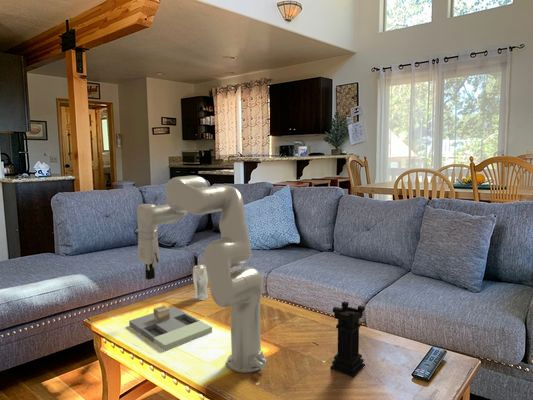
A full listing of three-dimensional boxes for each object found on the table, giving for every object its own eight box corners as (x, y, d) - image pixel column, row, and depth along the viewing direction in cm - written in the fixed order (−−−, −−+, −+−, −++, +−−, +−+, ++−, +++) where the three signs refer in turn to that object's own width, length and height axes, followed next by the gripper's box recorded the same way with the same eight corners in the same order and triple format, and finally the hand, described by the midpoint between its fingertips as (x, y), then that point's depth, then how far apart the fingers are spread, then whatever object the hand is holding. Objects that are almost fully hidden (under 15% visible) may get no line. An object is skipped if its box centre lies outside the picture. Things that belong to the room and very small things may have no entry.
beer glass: (192, 296, 192) (191, 265, 190) (207, 294, 194) (206, 263, 192) (194, 301, 186) (193, 269, 184) (210, 299, 188) (208, 268, 186)
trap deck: (212, 331, 155) (211, 327, 155) (165, 350, 142) (164, 345, 141) (173, 310, 175) (173, 306, 175) (129, 325, 162) (129, 320, 162)
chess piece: (342, 358, 135) (343, 300, 132) (365, 366, 130) (366, 306, 127) (330, 368, 129) (330, 308, 126) (353, 377, 124) (354, 315, 121)
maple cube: (169, 319, 163) (169, 308, 162) (159, 322, 159) (159, 311, 159) (164, 315, 166) (163, 305, 165) (154, 319, 163) (153, 308, 162)
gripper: (130, 233, 166) (133, 276, 169) (148, 239, 156) (150, 285, 158) (147, 230, 171) (149, 272, 174) (166, 236, 161) (167, 280, 163)
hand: (150, 278), depth 166 cm, fingers closed
